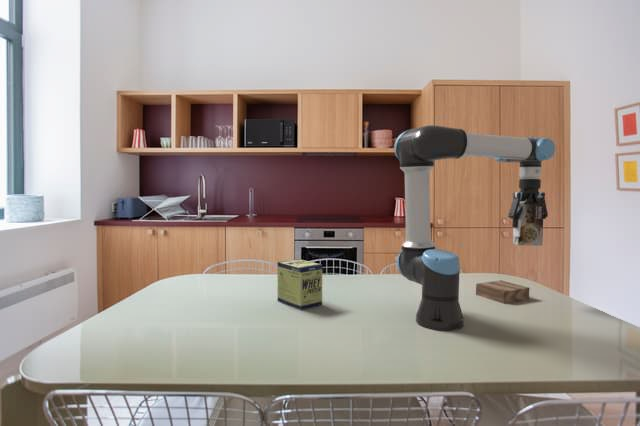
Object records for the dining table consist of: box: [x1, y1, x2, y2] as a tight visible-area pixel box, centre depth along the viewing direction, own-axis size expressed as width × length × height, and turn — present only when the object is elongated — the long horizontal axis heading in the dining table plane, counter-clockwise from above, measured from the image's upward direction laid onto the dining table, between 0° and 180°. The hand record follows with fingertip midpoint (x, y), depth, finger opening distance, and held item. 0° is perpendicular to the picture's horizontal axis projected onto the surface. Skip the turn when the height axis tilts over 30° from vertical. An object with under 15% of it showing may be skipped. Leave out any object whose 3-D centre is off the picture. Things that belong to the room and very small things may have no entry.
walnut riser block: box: [475, 280, 530, 304], centre depth 175 cm, size 14×14×5 cm
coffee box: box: [512, 203, 544, 247], centre depth 168 cm, size 9×6×16 cm
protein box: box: [277, 258, 323, 311], centre depth 166 cm, size 10×16×16 cm
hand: (527, 235), depth 168 cm, fingers closed on coffee box, 10 cm apart
